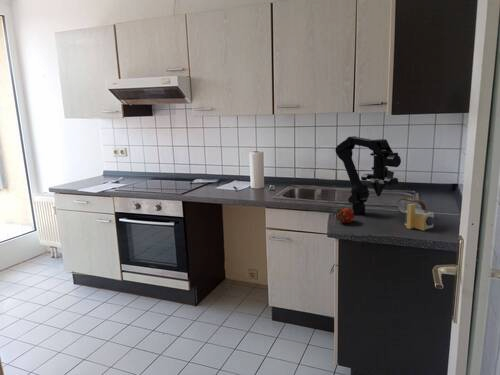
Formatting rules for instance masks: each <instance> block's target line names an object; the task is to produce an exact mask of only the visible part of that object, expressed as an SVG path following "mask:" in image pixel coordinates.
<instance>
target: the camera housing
mask: <svg viewBox="0 0 500 375" xmlns="http://www.w3.org/2000/svg"><path fill="white" fill-rule="evenodd" d="M415 214H417V215H421V216H426V223H425V230H428V229H433V228H434V221H435V219H434V216H435V213H434V212H432V211H429V210H426V211H424V210H420V209H415ZM404 226H407V210H406V211H405V214H404Z"/></svg>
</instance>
